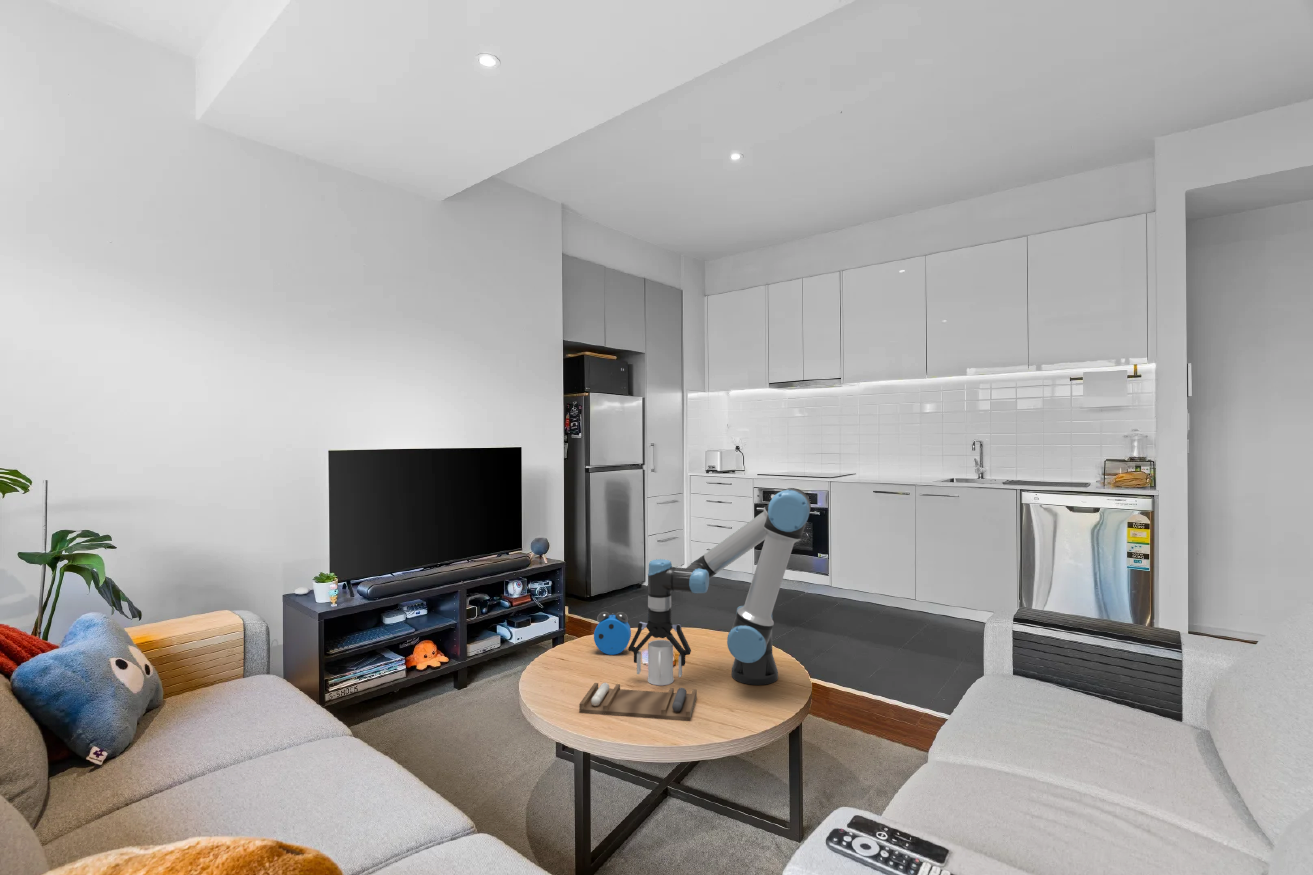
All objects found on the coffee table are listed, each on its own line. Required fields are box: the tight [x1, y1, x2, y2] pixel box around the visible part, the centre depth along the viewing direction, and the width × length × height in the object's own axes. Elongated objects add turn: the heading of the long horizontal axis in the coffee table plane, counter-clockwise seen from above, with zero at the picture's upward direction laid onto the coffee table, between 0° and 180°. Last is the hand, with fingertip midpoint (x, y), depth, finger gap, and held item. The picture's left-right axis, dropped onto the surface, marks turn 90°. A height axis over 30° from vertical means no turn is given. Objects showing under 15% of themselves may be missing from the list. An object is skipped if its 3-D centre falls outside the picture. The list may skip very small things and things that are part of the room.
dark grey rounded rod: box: [672, 687, 688, 712], centre depth 182 cm, size 3×13×3 cm, turn 170°
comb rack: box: [578, 682, 698, 722], centre depth 184 cm, size 32×16×2 cm, turn 80°
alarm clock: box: [593, 611, 632, 656], centre depth 230 cm, size 13×6×15 cm, turn 85°
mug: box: [647, 639, 675, 686], centre depth 201 cm, size 12×8×12 cm
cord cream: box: [591, 682, 610, 706], centre depth 186 cm, size 3×13×3 cm, turn 170°
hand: (659, 674), depth 201 cm, fingers open, 13 cm apart
